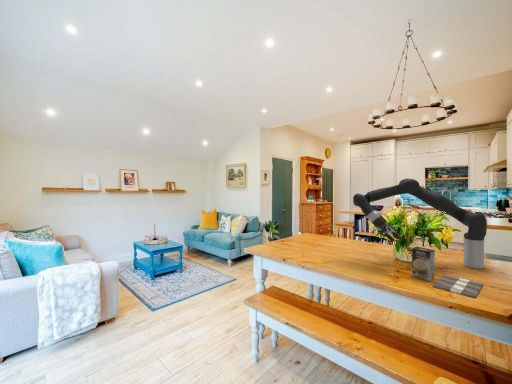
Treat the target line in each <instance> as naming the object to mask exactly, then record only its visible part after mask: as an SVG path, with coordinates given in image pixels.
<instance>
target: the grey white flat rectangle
mask: <svg viewBox="0 0 512 384" xmlns="http://www.w3.org/2000/svg"><path fill="white" fill-rule="evenodd" d="M483 286H484V283H482V282H478V281H474V280H470V279H466V278H465V279H464V278H462V277H461V278H460V277H456V276H452V275H448V274H442V275H441V276H440V277H438V279H437V280H436V281H435V282H434V283H433V284H432V288H437V289H440V290H442V291H446V292H447V291H448V292H449V293H451V292H452V293H455V294H459V295H461V296H465V297H469V298H473V299H476V298H477V296H478V295H479V293H480V291H481V289H482V288H483Z"/></svg>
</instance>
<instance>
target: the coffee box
mask: <svg viewBox="0 0 512 384" xmlns="http://www.w3.org/2000/svg"><path fill="white" fill-rule="evenodd" d="M411 249H412V250H411V276H412V277H414V278H418V279H420V280H424V281H427V282H431V281H432V280H434V279H435V266H436V265H435V262H436V261H435V259H436V258H435V255H436V252H435V251H436V249H435V250H434V249H431V248H426V247H421V246H415V247H414V246H413V248H411Z"/></svg>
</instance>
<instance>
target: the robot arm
mask: <svg viewBox="0 0 512 384" xmlns="http://www.w3.org/2000/svg"><path fill="white" fill-rule="evenodd" d="M405 194H408V195H411V196H413V197H415V198H417V199H419V200H420V201H422V202H423V203H424V204H426V205H428V206H429V207H431V208H433V209H435V210H437V211H439V212H441V211H443V212H444V211H445V212H446V213H444V214H445V215H447V216H450V217H451V218H453V219H455V220H456V221H458V222H459V223H461V224H462V225H463V226H466V227H468V228H467V232H465V233H464V234H463V266H464V267H467V268H470V269H476V270H483V269H484V268H485V237H486V236H487V230H488V229H487V228H488V219H487V217H486V216H485V215H483V214H481V213H477V212H472V211H468V210H466V209H464V208H462V207H460V206H458V205H457V204H456V203H455V202H454V201H453V200H451V199H450V198H448V197H447V196H445V195H443V194H440V193H438V192H436V191H433V190H431V189H428V188H424V187H423V186H421V185H420V183H419V181H418V180H416V179H414V178H404V179H402V180H400V181H399V183H398V184H395V185H392V186H387V187H381V188H378V189H374V190H370V191H368V192H366V194H362V193H355V194H354V195H353V197H352V203H353V205H354V206H355V207H358V208H359V209H360V210H361V212H362V213H363V214H364V216H366V218H367V219H368V220H369V222H370V223H371V224H372V225H373V226H374V227H375V228H376V230H377V231H378V232H379V234H381V236H383V237H384V238H387V239H388V240H389V242H391V243H393V242H395V239H396V240H400V239H401V237H400V236H399V234H398V233H397V230H396V229H395V228H394V227H393V226H392V225H391V224H390V223H388V224H387V222H388V220H387V219H386V218H385V217H384V216H383V215H382V214H381V213H380V212H379V211H378V210H376V209H375V208H374V206H372V204H371V203H373V202H378V201H380V200H384V199H388V198H391V197H394V196H399V195H405ZM443 212H442V213H443ZM393 237H394V238H393Z"/></svg>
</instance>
